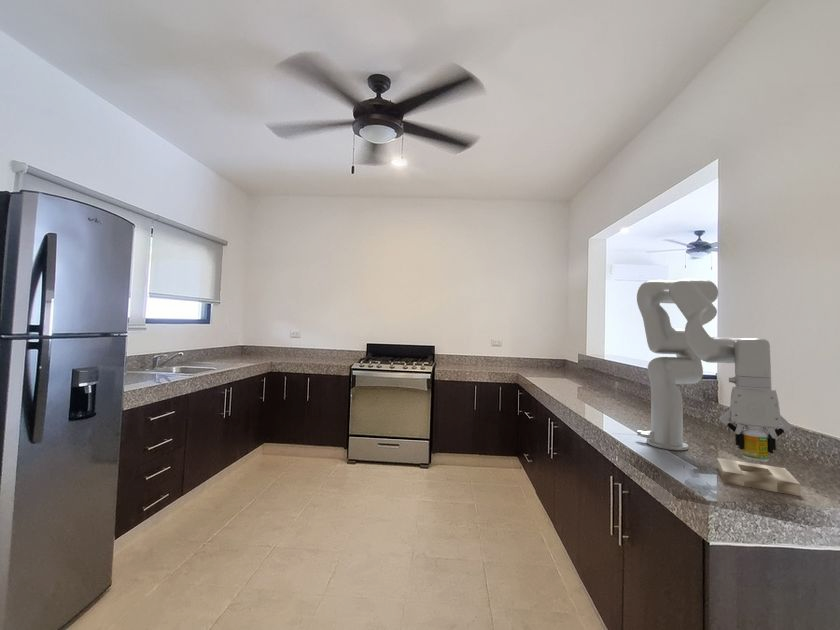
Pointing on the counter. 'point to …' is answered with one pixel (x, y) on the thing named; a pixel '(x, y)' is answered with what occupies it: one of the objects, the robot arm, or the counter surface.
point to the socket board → (758, 476)
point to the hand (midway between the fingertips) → (755, 449)
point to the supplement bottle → (755, 443)
